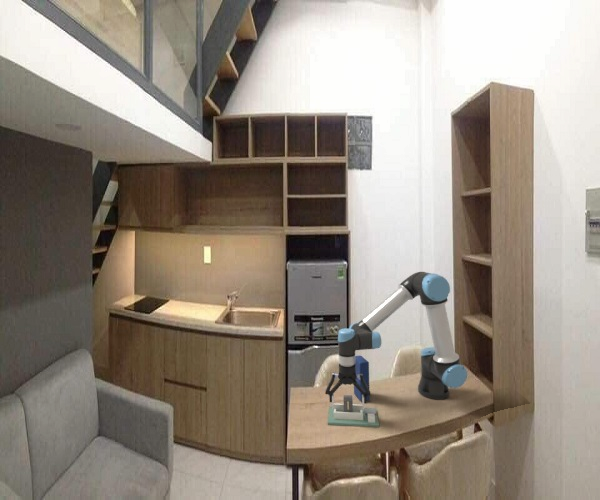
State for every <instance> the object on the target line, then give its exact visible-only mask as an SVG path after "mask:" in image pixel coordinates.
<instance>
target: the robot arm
mask: <svg viewBox="0 0 600 500" xmlns="http://www.w3.org/2000/svg"><path fill="white" fill-rule="evenodd" d="M450 292H451V286H450V283H449V281H448V279H446V277H444V276H443V275H440V274H437V273H431V272H425V271H416V272H415V273H412V274H411V275H409V276H408V277H407V278H405V279H404V280H403V281H401V283H399V284H398V287H397V289H396V290H394V291H393V292H392V293H391V294H390V295H389V296H388V297H386V298H385V299H383V301H382V302H380V304H378V305H377V306H376V307H375V308H374V309H373V310H372V311H370V312H369V313H368V314H367V315H366V316H364V317H363V318H362V319H361V320H360V321H359V322H358V323H357V322H356V323H355V322H353V323H351V324H350V326H349V328H345V327H344V328H341V329H339V330H338V334H337V335H338V336H337V342H338V345H337V346H338V373H335V372H332V373H331V374H332V375H331V379H329V383H328V385H327V387H326V389H325V395H328V396H329V403H331V406H332V410H334V404H335V393H336V392H337V390H338V388H340V386H342V385H349V386H350V385H353V387H354V386H355V387H356V388H357V389H358V390H359V391H360V392H361V394H362V403H361V405H362V410H363V412H364V408H365V404H367V403H368V401H367V396H372V395H371V390H370V387H369V388H368V387H367V385H366V383H365V381H364V379H363V375H362V373H360V374H358V375H356V366H355V356H356V351H362V350H363V351H364V350H365V351H366V350H376V349H380V348H381V346H382V337H381V334H380V332H378V331H374V330H376V329H377V328H378V327H379V326H380V325H382V324H383V322H385V321H386V320H387V319H388V318H390V317H391V316H392V315H393V314H394V313H395V312H396V311H397V310H399V309H401V307H403V305H405V304H406V303H407V302H408V301H410V300H412V301H413V299H416V297H419V298H420V303H421V305H422V306H424V307H425V310H426V315H427V319H428V325H429V329H430V334H431V335H430V336H431V338H432V344H433V347H432V346H431V347H429V346H428V347H424V348H422V349H421V352H420V364H421V365H420V369H421V370H420V372H421V373H420V375H421V377H420V379H419V382H418V384H417V385H418V386H417V393H419V394H420V396H423V397H424V398H427V399H432V400H445V399H447V398H448V397H450V389H457V388H458V389H459V388H460V387H461V386H463V385H464V384H465V382H466V381H467V380H468V370H467V368H466V367H465V366H464V365H462V364H461V359H460V355H459V354H458V353H456V352H455V346H454V343H453V338H452V337H453V336H452V332H451V327H450V322H449V319H448V318H449V317H448V314H447V313H448V312H447V308H446V303H448V300H449V299H448V297H449V294H450ZM337 378H338V379H339V380H338V381H337V382H336V384H334V382H335V380H337ZM356 378H358V379H359V380H361V383H362V385H363V386H364V388H365V390H366V392H365V391H364V390H363V389H362V387H361V386H360V385H359V384H358V383H357V381H356ZM333 384H334V386H333ZM332 386H333V387H332Z"/></svg>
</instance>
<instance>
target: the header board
mask: <svg viewBox="0 0 600 500" xmlns="http://www.w3.org/2000/svg"><path fill="white" fill-rule="evenodd" d="M328 407H329V408H328V417H327V425H328V426H349V427H363V428H364V427H367V428H369V427H370V428H379V427H380V424H379V423H380V422H379V417H378V411H377V408H376V407H364V412H363V410H362V404H358V403H357V404H356V403H355V404H354V403H353V412H344V403H334V410H332V405H330V406H328Z"/></svg>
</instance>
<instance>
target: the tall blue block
mask: <svg viewBox="0 0 600 500" xmlns="http://www.w3.org/2000/svg"><path fill="white" fill-rule="evenodd" d="M355 366H356V375H358V374H360V373H362V375H363V379H364V381H365V383H366V385H367V387H368V388H369V389H370V362H369V361H368V360H367V359H365V358H364V356H362V355H355ZM356 381H357V383H358V384H359V385H360V386H361V387H362V389H363V390H364V391H365V392H366V390H365V388H364V386H363V385H362V383H361V380H359V379H358V378H356ZM353 393H354V395H355V397H357V398H358V400H359V401H360V402H362V394H361V392H360V391H359V390H358V389H357V388H356V387H355V386H354V385H353ZM370 396H371V395H370ZM370 396H367V402H369V401H370V398H371V397H370Z"/></svg>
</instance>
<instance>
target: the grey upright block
mask: <svg viewBox="0 0 600 500" xmlns="http://www.w3.org/2000/svg"><path fill="white" fill-rule="evenodd" d="M343 404H344V412H353V404H354V402H353V395H350V394H343Z"/></svg>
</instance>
